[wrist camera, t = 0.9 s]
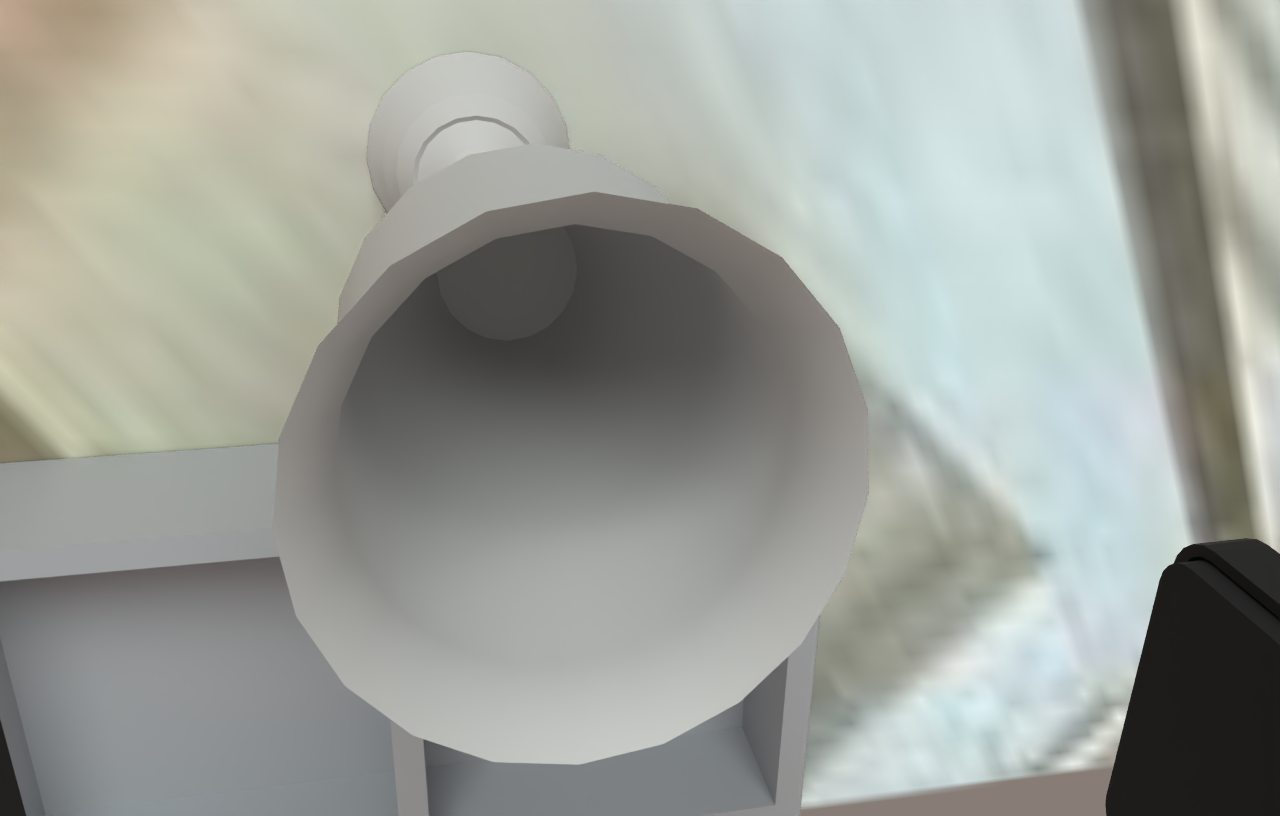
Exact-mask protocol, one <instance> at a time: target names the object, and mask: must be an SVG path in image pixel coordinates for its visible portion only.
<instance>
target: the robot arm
mask: <svg viewBox="0 0 1280 816" xmlns="http://www.w3.org/2000/svg"><path fill="white" fill-rule="evenodd" d="M1106 815H1107V816H1280V554H1279V553H1278V552H1276V551H1275V550H1274V549H1272V548H1271V547H1270V546H1268V545H1267V544H1265V543H1263V542H1261V541H1259V540H1257V539H1247V538H1245V539H1236V540H1227V541H1218V542H1209V543H1200V544H1193V545H1190V546H1187V547H1185V548H1184V549H1183V550H1182V551H1181V552H1180V553H1179V554H1178V555H1177V557H1176V559H1175V562H1174V564H1172V565H1169V566H1168V567H1167V568H1166V569H1165V570H1164V571H1163V573H1162V576H1161V578H1160V581H1159V585H1158V589H1157V593H1156V597H1155V601H1154V605H1153V610H1152V614H1151V618H1150V622H1149V626H1148V630H1147V634H1146V638H1145V642H1144V646H1143V650H1142V654H1141V658H1140V662H1139V666H1138V670H1137V674H1136V678H1135V682H1134V686H1133V690H1132V694H1131V698H1130V702H1129V707H1128V711H1127V715H1126V719H1125V723H1124V727H1123V731H1122V735H1121V739H1120V743H1119V747H1118V751H1117V755H1116V759H1115V763H1114V767H1113V771H1112V776H1111V780H1110V784H1109V787H1108V791H1107V795H1106ZM0 816H26V813H25V809H24V805H23V802H22V798H21V794H20V790H19V787H18V783H17V779H16V776H15V772H14V768H13V764H12V761H11V757H10V753H9V749H8V746H7V742H6V738H5V735H4V731H3V727H2V723H1V720H0Z"/></svg>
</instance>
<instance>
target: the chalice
mask: <svg viewBox="0 0 1280 816" xmlns="http://www.w3.org/2000/svg"><path fill="white" fill-rule="evenodd" d="M367 161H368V166H369V170H370V175H371V180H372V184H373V189H374V191H375V192H376V194H377V196H378V198H379V199H380V201H381V203H382V205H383V206H384V208H385V210H386V211H387V214H386V215H385V216H384V217H383V219H382V220H381V221H380V222H379V223H378V224H377V225H376V226H375V228H374V229H373V230H372V231H371V232H370V233H369V234H368V235H367V237H366V238H365V239H364V242H363V244H362V246H361V249H360V251H359V253H358V256H357V258H356V260H355V263H354V265H353V267H352V270H351V272H350V275H349V277H348V279H347V282H346V284H345V286H344V289H343V291H342V293H341V296H340V299H339V310H338V322H337V325H336V327H335V328H334V329H333V330H332V331H331V332H330V333H329V334H328V335H327V337H326V338H325V339H324V340H323V341H322V342H321V343H320V344H319V346H318V348H317V350H316V352H315V355H314V357H313V359H312V362H311V364H310V367H309V369H308V371H307V374H306V376H305V378H304V381H303V383H302V385H301V388H300V390H299V392H298V395H297V397H296V399H295V402H294V404H293V407H292V409H291V411H290V414H289V416H288V418H287V421H286V423H285V425H284V428H283V430H282V432H281V435H280V437H279V445H278V460H277V475H276V489H275V504H274V519H273V535H274V538H275V542H276V546H277V549H278V553H279V556H280V560H281V564H282V567H283V571H284V574H285V578H286V582H287V585H288V589H289V592H290V596H291V600H292V603H293V607H294V610H295V614H296V617H297V618H298V620H299V621H300V623H301V624H302V625H303V627H304V628H305V630H306V631H307V633H308V634H309V635H310V637H311V638H312V640H313V641H314V643H315V644H316V645H317V647H318V648H319V650H320V651H321V653H322V654H323V655H324V657H325V658H326V660H327V661H328V663H329V664H330V665H331V667H332V668H333V670H334V671H335V673H336V674H337V675H338V677H339V678H340V680H341V681H342V683H343V684H344V685H345V686H346V687H347V688H348V689H350V690H351V691H352V692H354V693H355V694H357V695H358V696H359V697H361V698H362V699H363V700H365V701H366V702H368V703H369V704H370V705H372V706H373V707H374V708H376V709H377V710H379V711H380V712H381V713H383V714H384V715H385V716H387V717H388V718H389V719H391V720H392V721H394V722H395V723H396V724H398V725H399V726H400V727H402V728H403V729H405V730H406V731H407V732H409V733H410V734H411V735H413V736H416V737H419V738H422V739H425V740H428V741H431V742H434V743H437V744H440V745H443V746H446V747H449V748H452V749H455V750H458V751H461V752H464V753H467V754H470V755H473V756H476V757H479V758H482V759H485V760H489V761H492V762H505V763H540V764H574V765H580V764H584V763H588V762H592V761H596V760H600V759H604V758H609V757H613V756H617V755H621V754H625V753H629V752H633V751H637V750H641V749H645V748H649V747H653V746H657V745H661V744H664V743H666V742H668V741H670V740H672V739H674V738H675V737H677V736H679V735H681V734H683V733H684V732H686V731H688V730H690V729H692V728H694V727H695V726H697V725H699V724H701V723H703V722H705V721H706V720H708V719H710V718H712V717H714V716H716V715H717V714H719V713H721V712H723V711H725V710H726V709H728V708H730V707H732V706H734V705H736V704H737V703H739V702H740V701H741V700H742V699H744V698H745V697H746V696H747V695H748V694H749V693H750V692H751V691H752V690H753V689H754V688H755V687H756V686H757V685H758V684H759V683H760V682H762V681H763V680H764V679H765V678H766V677H767V676H768V675H769V674H770V673H771V672H772V671H773V670H774V669H775V668H776V667H777V666H779V665H780V664H781V663H782V662H783V661H784V660H785V659H786V658H787V657H788V656H789V655H790V654H791V653H792V652H793V651H794V650H795V649H797V648H798V647H799V646H800V645H801V644H802V642H803V640H804V639H805V637H806V636H807V634H808V632H809V631H810V629H811V628H812V626H813V624H814V623H815V621H816V619H817V618H818V616H819V615H820V613H821V611H822V610H823V608H824V607H825V605H826V603H827V602H828V600H829V599H830V597H831V595H832V594H833V592H834V590H835V589H836V587H837V586H838V584H839V582H840V581H841V579H842V578H843V576H844V574H845V573H846V569H847V566H848V562H849V559H850V555H851V552H852V549H853V545H854V542H855V538H856V535H857V531H858V528H859V524H860V521H861V518H862V514H863V511H864V507H865V504H866V500H867V497H868V493H869V478H868V409H867V406H866V403H865V400H864V397H863V394H862V391H861V388H860V386H859V383H858V380H857V377H856V374H855V371H854V368H853V366H852V363H851V360H850V357H849V354H848V351H847V348H846V345H845V343H844V340H843V337H842V334H841V331H840V328H839V327H838V325H837V324H836V323H835V322H834V321H833V319H832V318H831V317H830V316H829V314H828V313H827V312H826V311H825V310H824V308H823V307H822V306H821V305H820V303H819V302H818V301H817V300H816V298H815V297H814V296H813V295H812V294H811V292H810V291H809V290H808V289H807V287H806V286H805V285H804V284H803V283H802V281H801V280H800V279H799V278H798V276H797V275H796V274H795V273H794V272H793V270H792V269H791V268H790V267H789V265H788V264H787V263H786V262H785V260H784V259H783V258H782V257H780V256H779V255H777V254H775V253H774V252H772V251H770V250H768V249H767V248H765V247H763V246H761V245H760V244H758V243H756V242H754V241H753V240H751V239H749V238H748V237H746V236H744V235H742V234H741V233H739V232H737V231H735V230H734V229H732V228H730V227H728V226H727V225H725V224H723V223H722V222H720V221H718V220H716V219H715V218H713V217H711V216H709V215H708V214H706V213H704V212H703V211H701V210H699V209H696V208H690V207H684V206H678V205H672V204H670V203H669V201H668V200H667V199H666V198H665V197H664V196H663V195H662V193H661V192H660V191H659V190H658V189H657V188H656V187H655V186H654V185H652V184H651V183H649V182H647V181H645V180H644V179H642V178H640V177H638V176H637V175H635V174H633V173H631V172H630V171H628V170H626V169H624V168H623V167H621V166H619V165H617V164H616V163H614V162H612V161H610V160H609V159H607V158H605V157H604V156H602V155H600V154H594V153H589V152H583V151H577V150H571V149H569V143H568V136H567V129H566V124H565V122H564V120H563V118H562V116H561V114H560V112H559V110H558V108H557V106H556V104H555V101H554V99H553V97H552V96H551V95H550V94H549V93H548V92H547V91H546V90H545V89H544V87H543V86H542V85H541V84H540V83H539V82H538V81H537V80H536V79H535V78H534V77H533V76H532V75H531V74H530V73H529V72H527V71H525V70H523V69H521V68H520V67H518V66H516V65H514V64H512V63H510V62H509V61H507V60H505V59H503V58H501V57H496V56H491V55H485V54H479V53H474V52H462V53H455V54H449V55H442V56H436V57H434V58H432V59H430V60H428V61H426V62H424V63H422V64H420V65H418V66H416V67H414V68H412V69H411V70H409V71H407V72H406V73H405V74H404V75H403V76H402V77H401V78H400V79H399V80H398V81H397V82H396V83H395V84H394V85H393V86H392V87H391V88H390V89H389V90H388V92H387V93H386V94H385V95H384V96H383V98H382V100H381V103H380V105H379V107H378V109H377V111H376V113H375V116H374V118H373V120H372V122H371V124H370V131H369V140H368V150H367Z"/></svg>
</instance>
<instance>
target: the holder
mask: <svg viewBox="0 0 1280 816" xmlns="http://www.w3.org/2000/svg"><path fill="white" fill-rule="evenodd" d="M278 445H279V444H266V445H252V446H238V447H224V448H210V449H196V450H182V451H168V452H154V453H140V454H126V455H112V456H98V457H84V458H70V459H56V460H42V461H28V462H14V463H0V720H1V723H2V727H3V731H4V735H5V738H6V742H7V746H8V749H9V753H10V757H11V761H12V764H13V768H14V772H15V776H16V779H17V783H18V787H19V790H20V794H21V798H22V802H23V805H24V809H25V813H26V816H800V808H801V798H802V788H803V778H804V768H805V758H806V748H807V738H808V728H809V718H810V708H811V698H812V688H813V678H814V668H815V658H816V648H817V638H818V628H819V618H820V615H819V616H818V618H817V619H816V621H815V623H814V624H813V626H812V628H811V629H810V631H809V632H808V634H807V636H806V637H805V639H804V640H803V642H802V644H801V645H800V646H799V647H798V648H797V649H795V650H794V651H793V652H792V653H791V654H790V655H789V656H788V657H787V658H786V659H785V660H784V661H783V662H782V663H781V664H780V665H779V666H777V667H776V668H775V669H774V670H773V671H772V672H771V673H770V674H769V675H768V676H767V677H766V678H765V679H764V680H763V681H762V682H760V683H759V684H758V685H757V686H756V687H755V688H754V689H753V690H752V691H751V692H750V693H749V694H748V695H747V696H746V697H745V698H744V699H742V700H741V701H740V702H739V703H737V704H736V705H734V706H732V707H730V708H728V709H726V710H725V711H723V712H721V713H719V714H717V715H716V716H714V717H712V718H710V719H708V720H706V721H705V722H703V723H701V724H699V725H697V726H695V727H694V728H692V729H690V730H688V731H686V732H684V733H683V734H681V735H679V736H677V737H675V738H674V739H672V740H670V741H668V742H666V743H664V744H661V745H657V746H653V747H649V748H645V749H641V750H637V751H633V752H629V753H625V754H621V755H617V756H613V757H609V758H604V759H600V760H596V761H592V762H588V763H584V764H580V765H574V764H540V763H505V762H492V761H489V760H485V759H482V758H479V757H476V756H473V755H470V754H467V753H464V752H461V751H458V750H455V749H452V748H449V747H446V746H443V745H440V744H437V743H434V742H431V741H428V740H425V739H422V738H419V737H416V736H413V735H411V734H410V733H409V732H407V731H406V730H405V729H403V728H402V727H400V726H399V725H398V724H396V723H395V722H394V721H392V720H391V719H389V718H388V717H387V716H385V715H384V714H383V713H381V712H380V711H379V710H377V709H376V708H374V707H373V706H372V705H370V704H369V703H368V702H366V701H365V700H363V699H362V698H361V697H359V696H358V695H357V694H355V693H354V692H352V691H351V690H350V689H348V688H347V687H346V686H345V685H344V684H343V683H342V681H341V680H340V678H339V677H338V675H337V674H336V673H335V671H334V670H333V668H332V667H331V665H330V664H329V663H328V661H327V660H326V658H325V657H324V655H323V654H322V653H321V651H320V650H319V648H318V647H317V645H316V644H315V643H314V641H313V640H312V638H311V637H310V635H309V634H308V633H307V631H306V630H305V628H304V627H303V625H302V624H301V623H300V621H299V620H298V618H297V617H296V614H295V610H294V607H293V603H292V600H291V596H290V592H289V589H288V585H287V582H286V578H285V574H284V571H283V567H282V564H281V560H280V556H279V553H278V549H277V546H276V542H275V538H274V535H273V519H274V504H275V489H276V475H277V460H278Z"/></svg>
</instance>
